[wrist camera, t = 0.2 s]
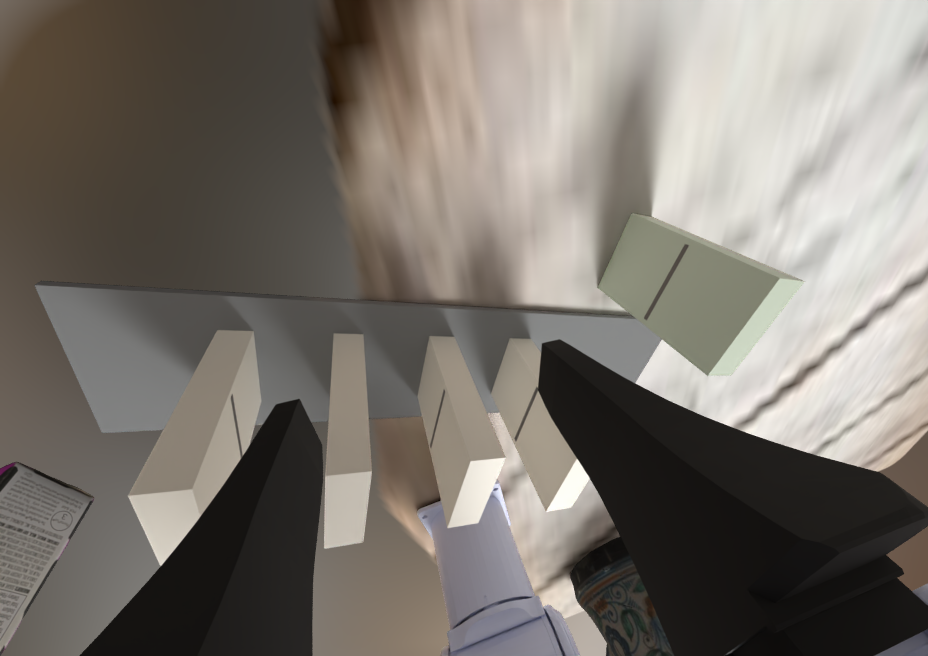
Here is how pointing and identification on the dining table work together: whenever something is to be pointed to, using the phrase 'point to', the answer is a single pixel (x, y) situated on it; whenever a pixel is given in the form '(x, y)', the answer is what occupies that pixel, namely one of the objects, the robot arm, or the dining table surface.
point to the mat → (298, 345)
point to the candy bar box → (32, 536)
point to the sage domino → (695, 292)
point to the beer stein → (619, 602)
